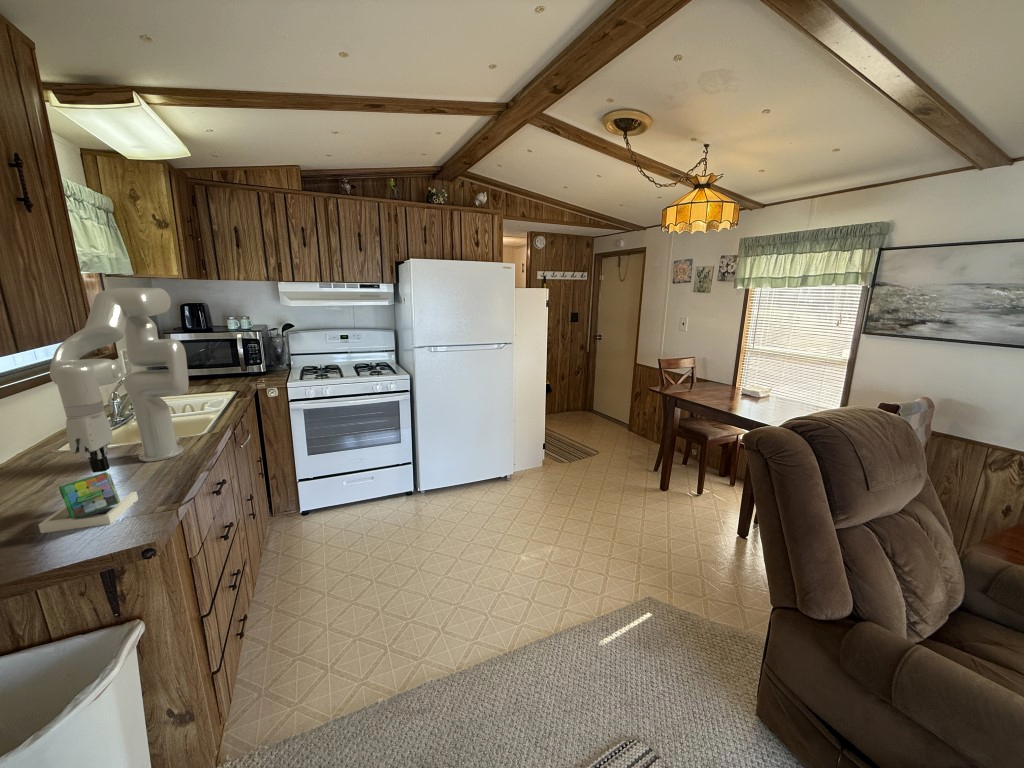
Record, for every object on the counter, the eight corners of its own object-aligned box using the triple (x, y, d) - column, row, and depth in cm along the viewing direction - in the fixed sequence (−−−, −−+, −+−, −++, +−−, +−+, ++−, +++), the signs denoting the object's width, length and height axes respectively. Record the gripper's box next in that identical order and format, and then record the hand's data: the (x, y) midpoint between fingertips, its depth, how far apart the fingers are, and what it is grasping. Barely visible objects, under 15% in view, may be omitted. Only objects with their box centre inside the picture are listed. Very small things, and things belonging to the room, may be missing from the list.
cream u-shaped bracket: (76, 506, 117) (74, 498, 116) (138, 499, 121) (136, 491, 120) (41, 533, 105) (38, 524, 104) (110, 523, 109) (108, 515, 108)
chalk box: (109, 473, 117) (106, 469, 107) (121, 502, 118) (119, 502, 107) (63, 487, 111) (55, 485, 100) (76, 518, 111) (69, 520, 101)
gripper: (86, 402, 119) (101, 461, 123) (46, 419, 105) (66, 484, 109) (118, 400, 121) (132, 458, 125) (83, 416, 107) (101, 481, 111)
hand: (101, 470), depth 117 cm, fingers closed
